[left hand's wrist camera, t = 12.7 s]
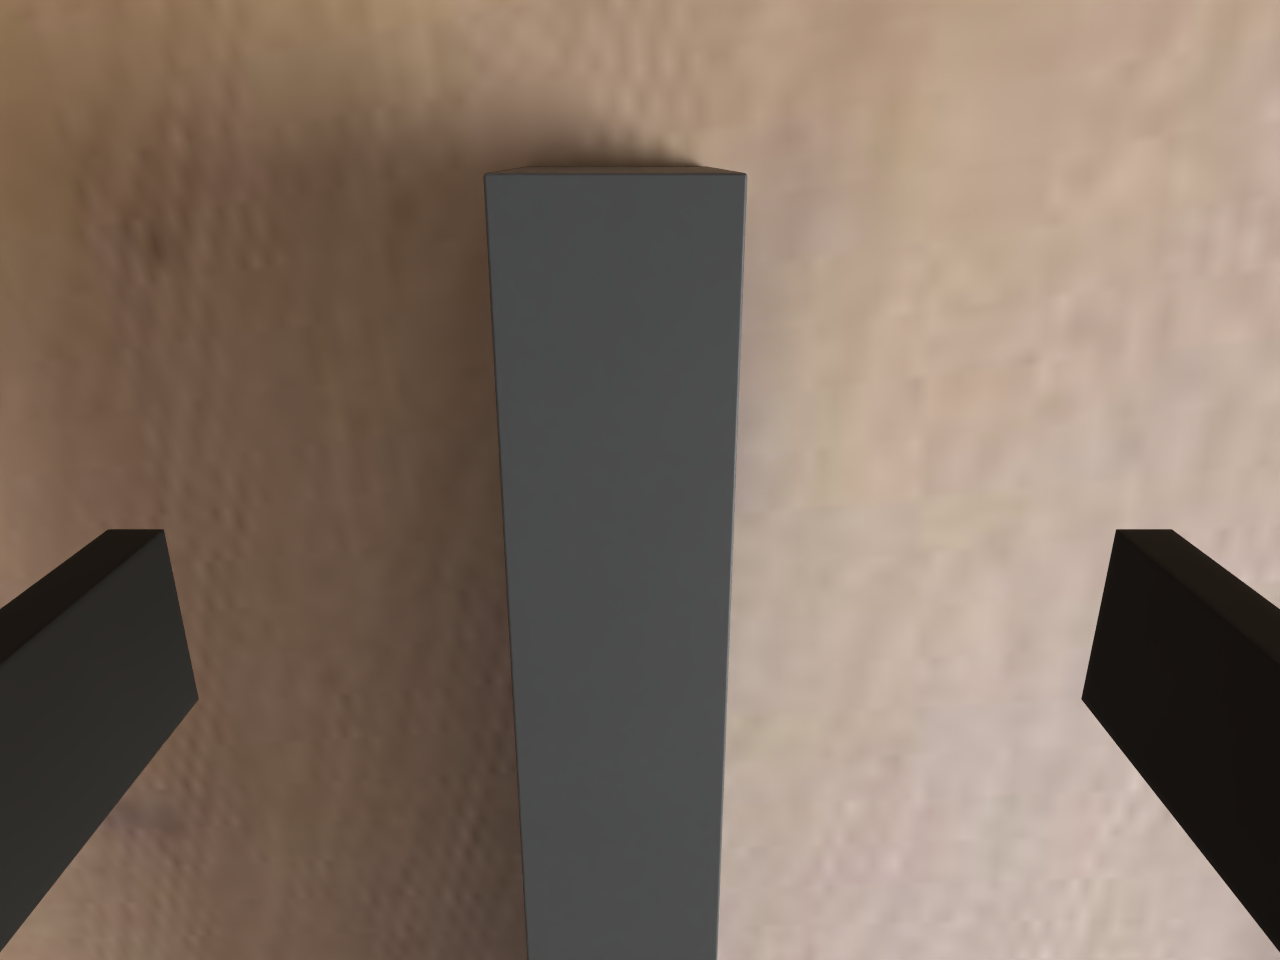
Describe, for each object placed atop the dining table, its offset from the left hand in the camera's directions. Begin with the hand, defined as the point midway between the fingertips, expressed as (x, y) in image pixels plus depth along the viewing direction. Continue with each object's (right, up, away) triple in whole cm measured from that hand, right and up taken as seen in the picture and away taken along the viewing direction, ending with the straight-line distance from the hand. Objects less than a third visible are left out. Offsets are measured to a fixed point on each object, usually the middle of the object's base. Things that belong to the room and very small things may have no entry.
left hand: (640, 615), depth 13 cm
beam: (-1, -19, +22) cm, 29 cm away
